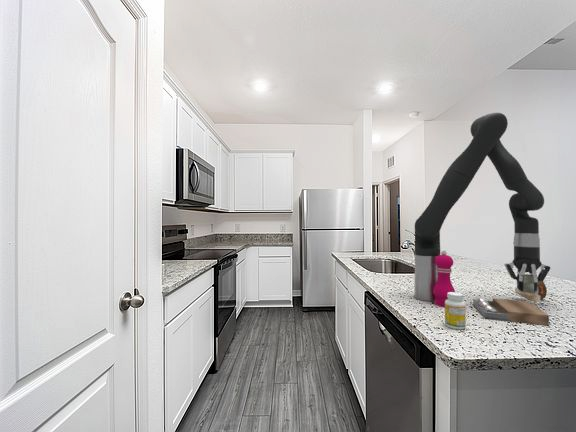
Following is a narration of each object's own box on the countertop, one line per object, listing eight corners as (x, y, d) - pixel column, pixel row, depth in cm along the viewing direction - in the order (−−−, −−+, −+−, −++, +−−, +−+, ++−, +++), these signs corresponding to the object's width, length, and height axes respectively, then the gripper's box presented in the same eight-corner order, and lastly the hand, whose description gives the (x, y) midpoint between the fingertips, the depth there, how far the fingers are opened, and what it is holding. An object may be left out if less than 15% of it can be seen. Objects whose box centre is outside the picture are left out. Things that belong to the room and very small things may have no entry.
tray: (485, 318, 91) (485, 312, 91) (473, 304, 105) (473, 299, 106) (508, 321, 88) (507, 314, 88) (492, 306, 103) (492, 300, 103)
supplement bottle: (464, 331, 80) (464, 297, 80) (443, 326, 84) (442, 293, 84) (467, 326, 84) (467, 293, 84) (447, 321, 88) (446, 290, 88)
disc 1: (491, 305, 99) (489, 308, 99) (487, 301, 103) (485, 305, 103) (480, 298, 100) (477, 302, 100) (476, 295, 104) (474, 299, 104)
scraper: (529, 300, 101) (529, 278, 101) (515, 292, 114) (514, 272, 114) (540, 301, 100) (539, 278, 100) (524, 293, 113) (524, 273, 113)
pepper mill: (453, 302, 108) (452, 249, 108) (457, 308, 101) (457, 251, 101) (431, 301, 110) (431, 249, 110) (434, 306, 103) (434, 251, 103)
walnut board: (508, 321, 88) (507, 311, 88) (492, 306, 103) (492, 298, 103) (548, 325, 85) (548, 315, 85) (526, 309, 100) (526, 301, 100)
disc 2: (495, 309, 95) (492, 312, 95) (491, 305, 98) (488, 309, 99) (482, 302, 96) (480, 305, 96) (479, 298, 100) (477, 302, 100)
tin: (547, 301, 110) (547, 279, 110) (538, 301, 111) (538, 279, 111) (523, 291, 125) (523, 272, 125) (515, 291, 125) (515, 272, 125)
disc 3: (500, 313, 91) (498, 317, 91) (495, 308, 94) (493, 312, 95) (487, 306, 92) (485, 310, 92) (483, 302, 95) (481, 306, 96)
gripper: (507, 245, 106) (507, 292, 106) (555, 246, 101) (556, 295, 101) (500, 243, 113) (501, 287, 113) (545, 245, 108) (546, 290, 108)
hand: (527, 291), depth 107 cm, fingers closed on scraper, 3 cm apart
